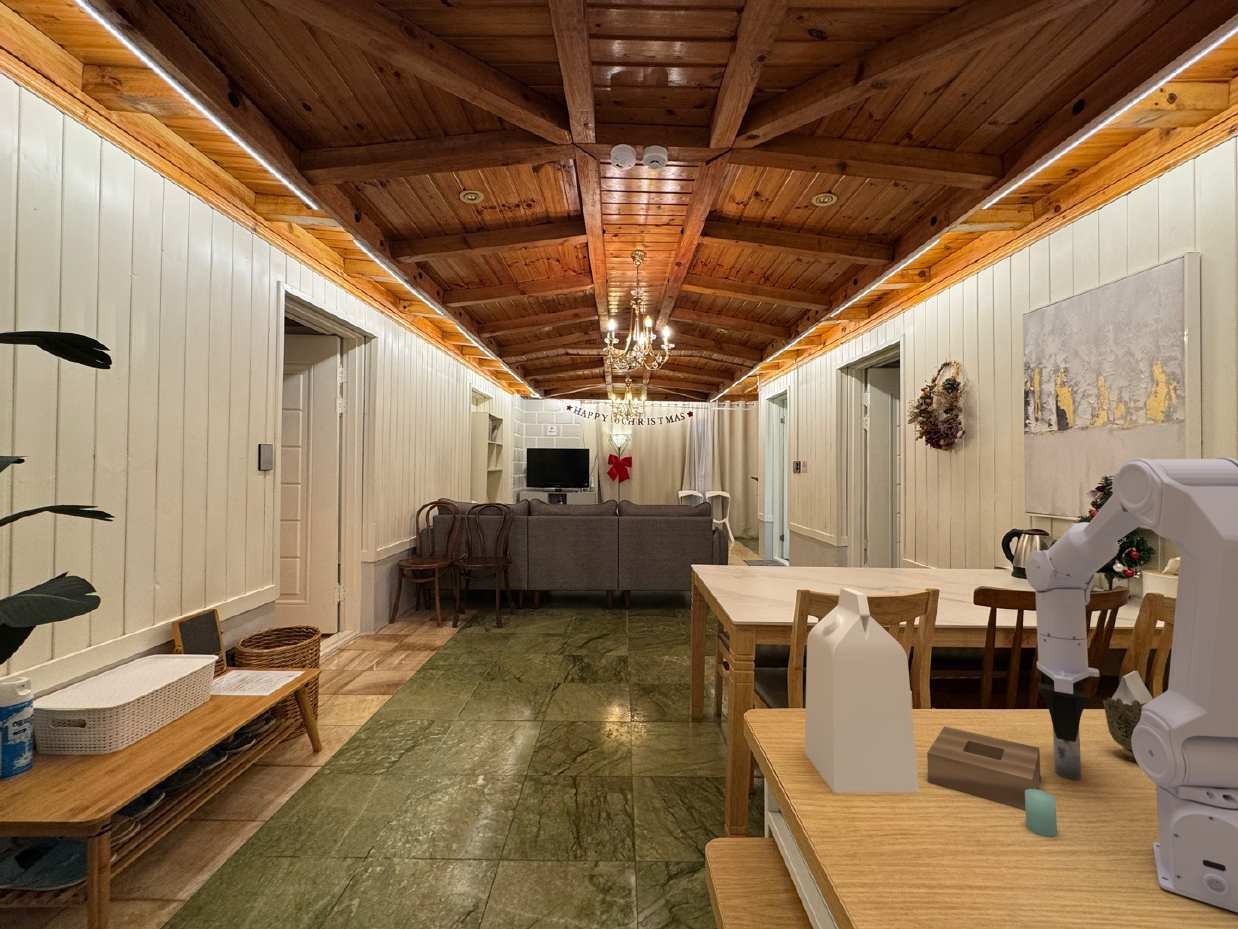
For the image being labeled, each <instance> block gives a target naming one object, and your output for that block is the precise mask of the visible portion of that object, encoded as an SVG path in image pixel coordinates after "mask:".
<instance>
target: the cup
mask: <svg viewBox="0 0 1238 929" xmlns="http://www.w3.org/2000/svg"><path fill="white" fill-rule="evenodd" d="M1111 698H1112V697H1111ZM1111 698H1110V697H1108V698H1107V699H1106V700H1104V699H1103V706H1104V712H1105V718H1106V719H1105V720H1106V724H1107V728H1108V730H1109V734H1110V736H1111V737H1112V739H1113V740H1114V741H1115V742H1116V743H1117V744H1118V745H1119V746H1121V747H1122V748H1121V752H1122V755H1123V757H1125V758H1126V759H1128V760H1130V761H1133V762H1136V763H1137V761H1136V759H1135V757H1134V754H1133V750H1132V745H1131V738H1132V734H1133V731H1134V728H1135V727H1136V725H1137V724H1138V723H1139V721H1140V718H1141V711H1142V706H1143V705H1145V704H1146V703H1143V704H1140V702H1139V701H1138V700H1133V701H1132V703H1133V704H1132V703H1131V704H1132V705H1129V704H1127V703H1125V704H1123V702H1122V700H1121V699H1119V698H1117V699H1116V701H1115V700H1113V699H1111Z"/></svg>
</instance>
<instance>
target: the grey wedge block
mask: <svg viewBox="0 0 1238 929" xmlns="http://www.w3.org/2000/svg"><path fill="white" fill-rule="evenodd" d="M1117 698H1119V699H1121V700H1122V702H1123V704H1125V703H1127V704H1129V705H1132V704H1133V703H1132V701H1133V700H1138V701H1139V702H1140V704H1143V703H1148V702H1149V701H1151V700H1153V699H1154V698H1153V696H1152V695H1151V693H1150V691H1149V690H1148V688H1147V686H1145V683H1144V682H1143V680H1142V678H1141V676H1140V673H1139V671H1138V670H1133V671H1131V672H1130V673H1128V674H1125V675H1123V676H1122V677H1121V679H1120V683H1119V685H1118V687H1117V689H1116V691H1115V692H1114V693H1113V695H1112V697H1111V699H1113V700H1115V701H1116V699H1117ZM1131 703H1132V704H1131Z"/></svg>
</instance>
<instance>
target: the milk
mask: <svg viewBox="0 0 1238 929" xmlns="http://www.w3.org/2000/svg"><path fill="white" fill-rule="evenodd" d="M869 608H870V607H869V602H868V597H867V594H866V593H863V592H860V591H858V590H855V589H852V588H850V587H847V588H846V587H840V591H839V597H838V601H837V605H836V606H835V607H834V608H833V609H831V611H829V612H828V613H827V614H826V615H825V616H824V617H822V619H820V620H819V621H818V622H817V623H816V624H815V625H814V626H813V627H812V628H811V630H810V631H809V633H808V636H807V639H806V640H807V641H806V671H805V672H806V675H805V679H806V680H805V681H806V682H805V717H804V718H805V719H804V721H805V723H804V754H805V756H806V757H807V759H808V760H809V761H810V763H811V764H812V765H813V766H814V768H815V769H816V771H817V772H818V773H819V775H820V777H822V778H823V780H824V782H825V783H826V784H827V785H828V787H829V788H830V789H831V790H832V792H833V793H834V794H880V793H881V794H884V793H885V794H889V793H890V794H892V793H894V794H899V793H900V794H901V793H902V794H905V793H906V794H907V793H908V794H909V793H910V794H913V793H915V794H916V793H920V789H919V788H920V787H919V779H918V778H919V777H918V768H917V766H918V765H917V764H918V763H917V754H916V742H915V732H914V719H913V706H912V696H911V695H912V694H911V683H910V673H909V660H908V656H907V653H906V651H905V649H904V647H903V646H902V645H901V644H900V642H898V640H897V639H896V638H894V637H893V636H892V635H891V634H890V633H889V632H888V631H887V630H886V629H885V628H884V627H883V626H882V625H881V624H880V623H879V622H877V621H876V620H875V619H874V618H873V617H872V616H871V613H870V609H869Z"/></svg>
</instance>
